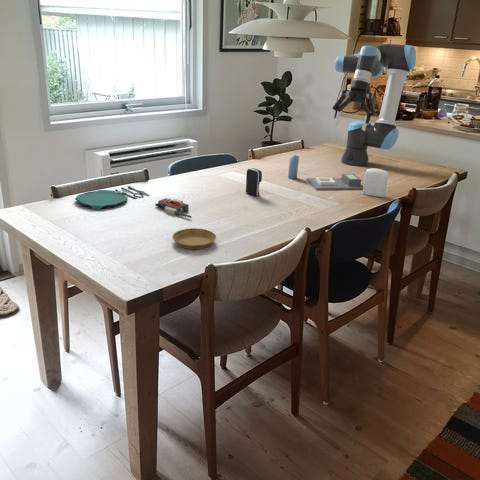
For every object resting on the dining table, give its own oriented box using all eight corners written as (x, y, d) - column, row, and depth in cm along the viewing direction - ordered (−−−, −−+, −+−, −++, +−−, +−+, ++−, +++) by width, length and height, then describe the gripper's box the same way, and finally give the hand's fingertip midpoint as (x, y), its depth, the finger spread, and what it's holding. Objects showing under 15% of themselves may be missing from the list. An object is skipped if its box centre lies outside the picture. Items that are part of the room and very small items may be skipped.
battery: (261, 195, 220) (263, 170, 216) (255, 196, 218) (257, 171, 213) (251, 191, 225) (252, 166, 221) (245, 192, 223) (246, 167, 218)
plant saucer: (186, 256, 160) (186, 248, 159) (164, 240, 171) (164, 233, 170) (224, 246, 168) (224, 239, 167) (201, 232, 179) (201, 225, 178)
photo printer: (361, 194, 229) (365, 168, 224) (363, 191, 233) (367, 166, 228) (383, 198, 225) (388, 171, 220) (385, 195, 228) (390, 169, 224)
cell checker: (351, 179, 250) (353, 172, 248) (364, 189, 236) (365, 181, 234) (306, 180, 246) (307, 172, 244) (316, 190, 231) (317, 181, 230)
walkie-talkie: (151, 209, 198) (189, 221, 188) (150, 198, 197) (189, 210, 186) (166, 203, 205) (203, 215, 195) (166, 193, 203) (204, 204, 193)
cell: (295, 176, 251) (297, 154, 246) (297, 179, 247) (300, 156, 242) (287, 176, 250) (289, 153, 245) (289, 179, 246) (291, 156, 241)
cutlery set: (66, 201, 202) (66, 195, 201) (127, 187, 223) (127, 182, 222) (94, 214, 190) (94, 208, 189) (155, 199, 211) (155, 194, 210)
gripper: (332, 76, 229) (321, 122, 231) (385, 82, 216) (372, 130, 219) (338, 81, 235) (327, 125, 238) (390, 86, 222) (377, 133, 225)
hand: (349, 128), depth 228 cm, fingers open, 13 cm apart
